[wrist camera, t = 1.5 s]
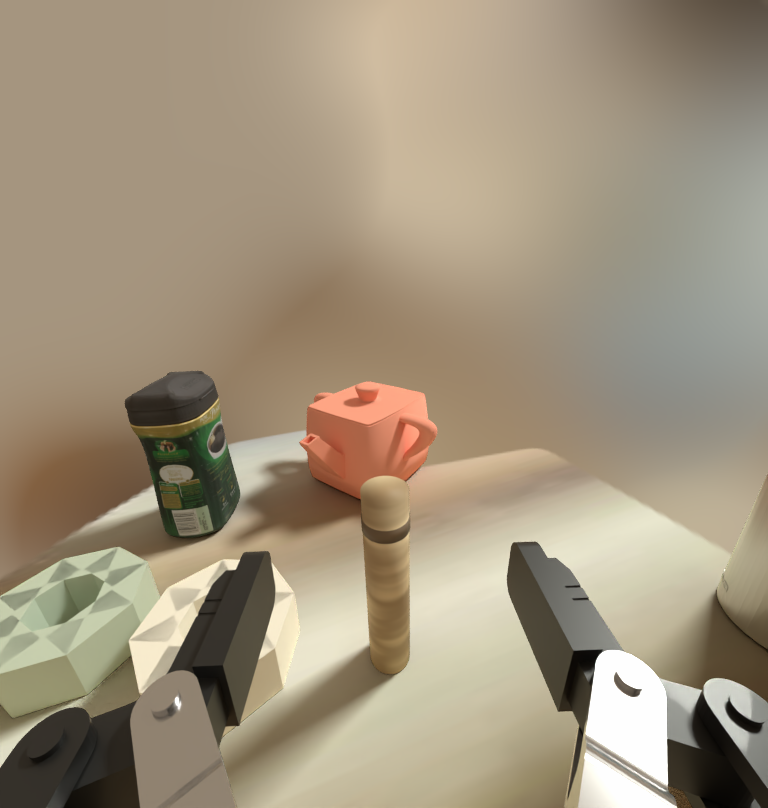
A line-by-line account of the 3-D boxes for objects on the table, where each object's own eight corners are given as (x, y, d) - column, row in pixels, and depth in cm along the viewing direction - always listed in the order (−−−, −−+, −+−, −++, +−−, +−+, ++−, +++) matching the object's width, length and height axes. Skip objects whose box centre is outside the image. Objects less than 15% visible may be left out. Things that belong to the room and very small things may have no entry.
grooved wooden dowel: (418, 654, 29) (420, 490, 23) (388, 684, 27) (382, 512, 21) (391, 626, 31) (386, 469, 25) (361, 651, 29) (349, 488, 23)
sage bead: (181, 609, 33) (169, 573, 32) (33, 742, 24) (6, 702, 23) (114, 569, 38) (100, 536, 36) (-31, 668, 29) (-59, 630, 27)
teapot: (350, 434, 67) (345, 362, 62) (458, 470, 54) (463, 383, 49) (259, 485, 52) (243, 396, 47) (378, 551, 40) (374, 439, 34)
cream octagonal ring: (319, 658, 29) (314, 619, 27) (168, 780, 22) (148, 739, 21) (263, 576, 37) (256, 542, 35) (138, 648, 30) (122, 610, 28)
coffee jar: (191, 494, 50) (156, 367, 43) (247, 490, 51) (222, 364, 44) (153, 544, 41) (102, 394, 34) (223, 540, 42) (185, 391, 35)
